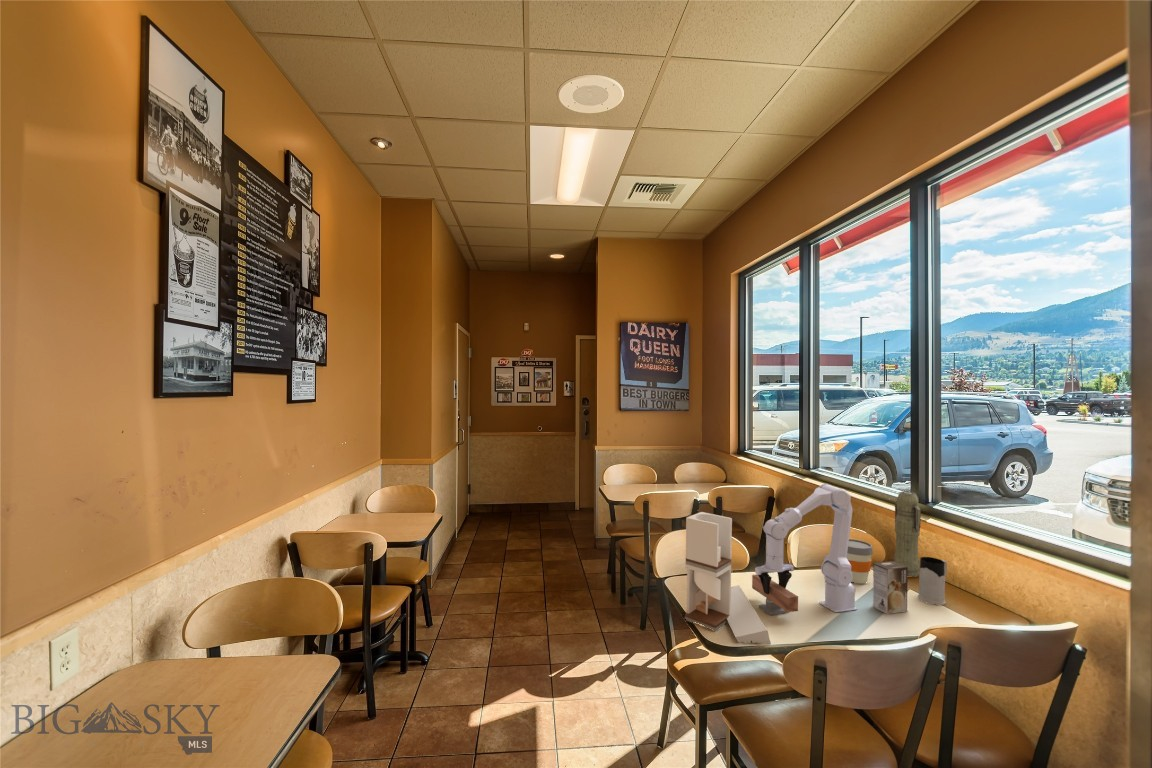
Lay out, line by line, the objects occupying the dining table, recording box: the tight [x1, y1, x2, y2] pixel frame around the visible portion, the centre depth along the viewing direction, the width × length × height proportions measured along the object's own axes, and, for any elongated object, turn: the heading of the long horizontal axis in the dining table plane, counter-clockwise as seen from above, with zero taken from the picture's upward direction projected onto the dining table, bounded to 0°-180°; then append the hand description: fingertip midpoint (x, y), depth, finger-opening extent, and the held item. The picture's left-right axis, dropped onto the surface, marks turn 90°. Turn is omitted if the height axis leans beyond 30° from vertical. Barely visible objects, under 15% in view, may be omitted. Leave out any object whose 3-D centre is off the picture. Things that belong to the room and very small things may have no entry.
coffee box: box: [872, 560, 909, 615], centre depth 178 cm, size 9×6×16 cm
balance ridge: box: [758, 597, 790, 616], centre depth 176 cm, size 8×6×4 cm
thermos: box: [893, 491, 922, 577], centre depth 212 cm, size 9×12×35 cm
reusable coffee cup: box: [847, 538, 874, 584], centre depth 205 cm, size 12×13×15 cm
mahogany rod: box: [751, 573, 799, 613], centre depth 176 cm, size 4×20×5 cm, turn 15°
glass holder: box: [917, 556, 948, 606], centre depth 188 cm, size 9×14×15 cm, turn 117°
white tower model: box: [684, 511, 733, 632], centre depth 168 cm, size 11×11×35 cm
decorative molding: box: [727, 584, 771, 645], centre depth 171 cm, size 34×5×10 cm
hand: (774, 592), depth 176 cm, fingers open, 6 cm apart
